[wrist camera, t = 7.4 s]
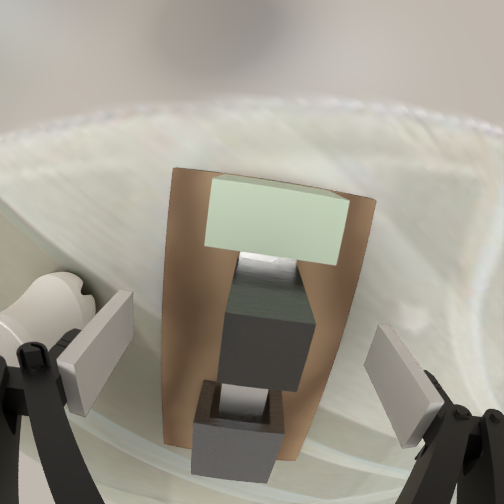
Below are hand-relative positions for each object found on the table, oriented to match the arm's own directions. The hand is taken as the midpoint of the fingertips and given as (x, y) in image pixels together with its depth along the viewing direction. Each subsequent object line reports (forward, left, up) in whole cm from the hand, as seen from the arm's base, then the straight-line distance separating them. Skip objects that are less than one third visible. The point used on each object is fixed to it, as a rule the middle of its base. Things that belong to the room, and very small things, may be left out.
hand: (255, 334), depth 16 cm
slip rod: (0, -4, -10) cm, 11 cm away
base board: (0, -8, -11) cm, 14 cm away
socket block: (0, +5, -11) cm, 12 cm away
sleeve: (0, -16, -11) cm, 20 cm away
